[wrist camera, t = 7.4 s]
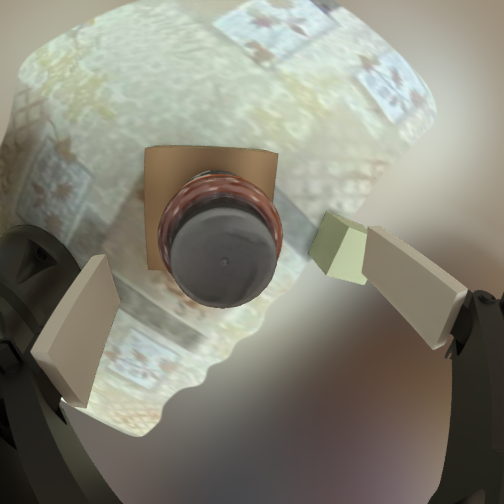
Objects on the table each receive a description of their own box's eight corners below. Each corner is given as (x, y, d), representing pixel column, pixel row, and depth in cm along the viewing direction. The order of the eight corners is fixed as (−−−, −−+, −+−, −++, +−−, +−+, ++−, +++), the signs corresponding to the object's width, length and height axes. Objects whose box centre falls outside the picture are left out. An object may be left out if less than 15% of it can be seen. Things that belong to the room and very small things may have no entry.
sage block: (307, 252, 29) (326, 275, 25) (326, 211, 27) (348, 227, 23) (343, 263, 31) (364, 285, 26) (361, 224, 29) (386, 241, 24)
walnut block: (156, 246, 26) (148, 269, 22) (156, 145, 22) (145, 148, 18) (254, 247, 28) (264, 271, 24) (264, 149, 24) (278, 154, 20)
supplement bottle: (176, 169, 19) (139, 175, 8) (256, 171, 20) (311, 180, 9) (177, 246, 21) (151, 329, 10) (252, 246, 22) (295, 326, 11)
